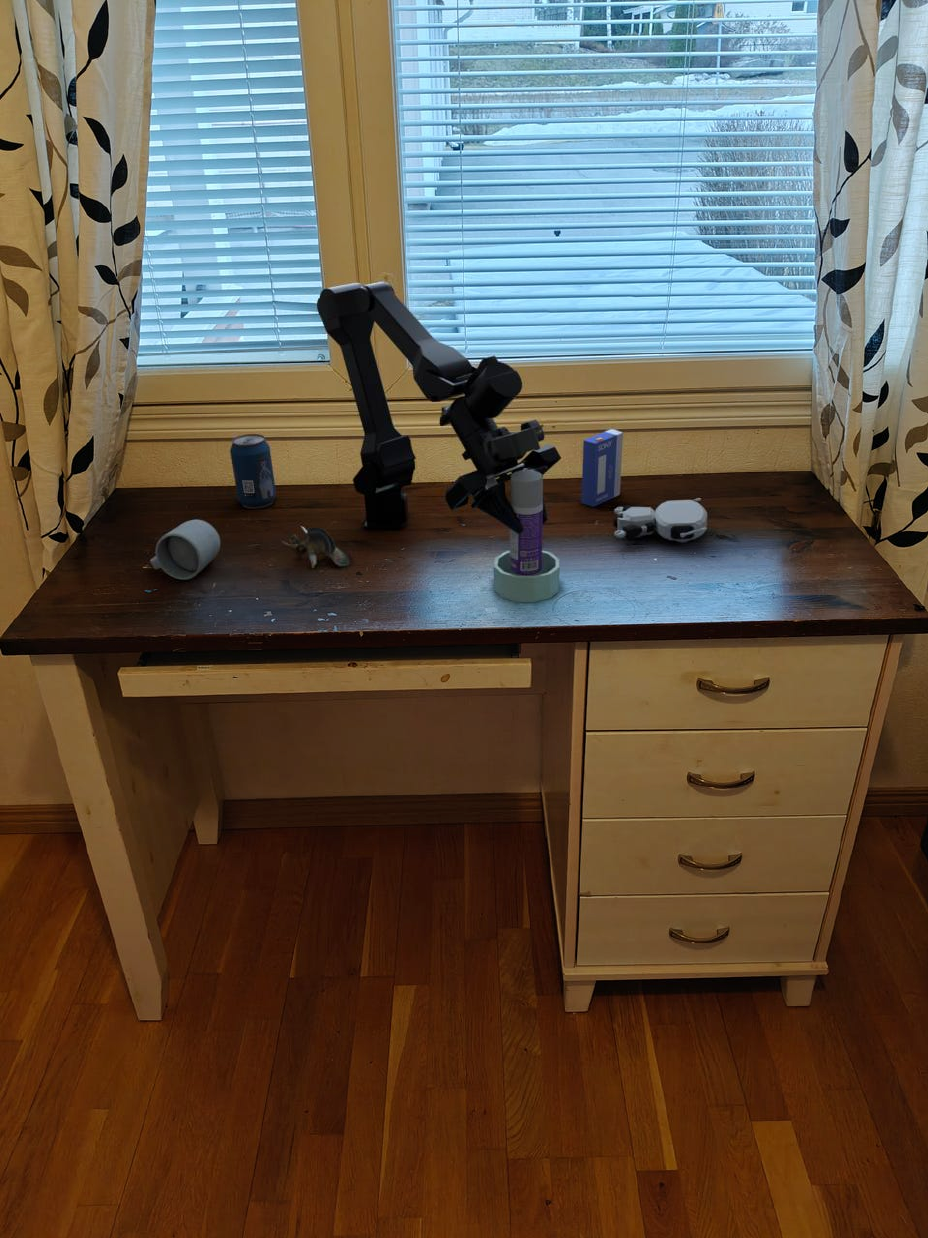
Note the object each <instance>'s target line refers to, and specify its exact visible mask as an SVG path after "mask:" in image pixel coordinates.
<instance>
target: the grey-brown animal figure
mask: <svg viewBox="0 0 928 1238" xmlns="http://www.w3.org/2000/svg"><path fill="white" fill-rule="evenodd" d="M300 528H301V531H303V533H304V536H305V539H304V540H301V541H300V538H299V537H298V536H297V535H296V534H294V533H293V534H292V535H291V536H290V537H289V539H288V540H289V543H288V542H285V541H283V540H282V541H281V543H282V545H283V546H284V547H286V548H289V549H291V550H292V551H293V552H294V553H295V554H296V556H297V557H296V558H297V559H301V558H302V556H303V555H304V554H305V553H307V555H308V558H309V560H310V563H311V569H314V568H315V566H316V565H317V556H318V555H320V554H321V555H325V556H326V557H328V558H329V559H330V560H331V561H333V563H335V565H336V566H337V567H347V566H349V565H351V564H350V562H351V560H350V558H349V557H348V555H347V554H346V553H345V552H344V551H342V550H341V549H340V548H338V547H336V545H335V541H334V539H333V538H332V536H331V534H330V533H329V532H328V531H326V530H325V529H324V528H320V527H312V526H311V527H310V528H309V529H308V530H307V529H306V528H305V527H304V526H301V525H300ZM302 547H303V548H302ZM300 548H302V549H300Z"/></svg>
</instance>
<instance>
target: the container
mask: <svg viewBox="0 0 928 1238" xmlns="http://www.w3.org/2000/svg"><path fill="white" fill-rule="evenodd" d="M543 478H544V475H543V476H542V474H541V473H539V472H537V471H532V470H521V471H517V472H514V473H513V474H512V475H511V480H510V491H509V492H510V494H509V495H510V496H509V503H510V505H511V506H512V508H513V510H514V512H515V513H516V515H517V517H518V519H519V521H520V523H521V525H522V528H523V531H522V532H521V533H520V534H517V533H516V532H514V531H513V530H512V529H510V528H509V551H510V573H511V574H513V575H517V576H536V575H540V574H541V571H542V550H543V527H544V523H543V498H544V493H543V492H544V488H543V487H544V484H543V483H544V482H543V480H544V479H543Z"/></svg>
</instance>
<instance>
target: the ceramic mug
mask: <svg viewBox="0 0 928 1238" xmlns="http://www.w3.org/2000/svg"><path fill="white" fill-rule="evenodd" d="M221 543H222V542H221V537H220V535H219V533H218V531H217V530H216V528H215V527H214V526H213V525H211V523H209V522H207V521H205V520H202V519H191V520H186V521H185V522H183V523H181V524H179V525H178V526H177V527H175V528H174V529H172V530H170V531H169V532H168V533H165V534H164V535H162V536H161V537H160V539H158V541H157V543H156V546H155V551H154V553H155V556H153V557H152V558H151V559H150V560H149V562H150V564H151V566H152V568H153V569H154V570H159V569H161V570H162V571H163V572H164V573H166V574H167V575H169V577H171V578H174V579H176V580H182V581H187V580H192V579H193V578H195V577H196V576H197V575H199V573H201V572H202V571H203V570H204V569H205V568H206V567H207V566H208V565H209V564H210V563H211V562H212V561H214V559H215V558H216V557H217V556H218V553H219V552H220V549H221Z"/></svg>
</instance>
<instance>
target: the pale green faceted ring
mask: <svg viewBox="0 0 928 1238" xmlns="http://www.w3.org/2000/svg"><path fill="white" fill-rule="evenodd" d="M560 562H561V561H560V558H558V557H557V556H556V555H555V554H553V553H552V552H551V551H547V550H543V549H542V571H541V574H540V575H536V576H517V575H513V574H511V573H510V550H507V551H503V552H502V553H500V554H499V555H497V556H496V557H495V558H494V560H493V590H494V592H496V593H497V594H498V595H499V596H500V597H501V598H502V599H506V600H509V601H513V602H515V603H537V602H541V601H545V600H549V599H551V598H552V597H553V596H555V595H556V594H557V593H559V592H560Z"/></svg>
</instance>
